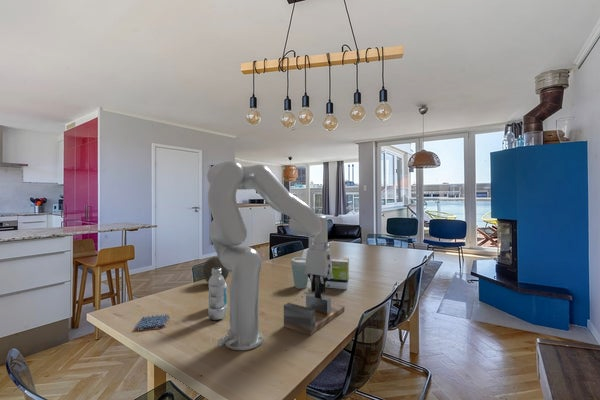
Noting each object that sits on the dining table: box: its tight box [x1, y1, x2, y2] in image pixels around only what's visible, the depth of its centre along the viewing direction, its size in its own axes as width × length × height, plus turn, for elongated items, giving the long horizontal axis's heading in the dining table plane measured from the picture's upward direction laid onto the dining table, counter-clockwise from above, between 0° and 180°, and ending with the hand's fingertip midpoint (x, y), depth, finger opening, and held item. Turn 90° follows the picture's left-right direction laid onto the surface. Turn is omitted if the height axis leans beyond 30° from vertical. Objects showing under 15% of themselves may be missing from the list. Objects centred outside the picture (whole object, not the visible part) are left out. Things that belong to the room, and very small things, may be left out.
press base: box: [283, 302, 345, 336], centre depth 113 cm, size 26×12×8 cm, turn 145°
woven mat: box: [135, 313, 171, 332], centre depth 108 cm, size 10×11×2 cm
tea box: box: [325, 256, 350, 290], centre depth 154 cm, size 15×10×15 cm, turn 76°
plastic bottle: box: [207, 267, 226, 321], centre depth 113 cm, size 6×7×20 cm
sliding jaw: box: [305, 275, 332, 315], centre depth 114 cm, size 3×10×16 cm, turn 55°
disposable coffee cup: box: [290, 257, 309, 289], centre depth 153 cm, size 11×11×15 cm
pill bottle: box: [208, 277, 228, 310], centre depth 123 cm, size 8×7×14 cm
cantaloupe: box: [202, 256, 230, 283], centre depth 158 cm, size 14×14×15 cm
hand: (318, 291), depth 114 cm, fingers closed on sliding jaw, 3 cm apart
